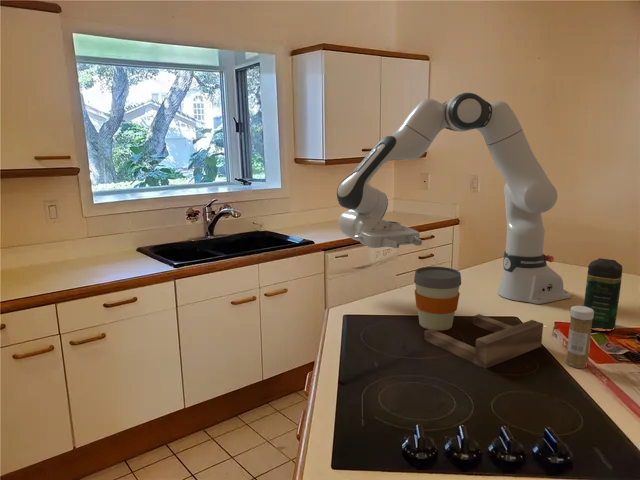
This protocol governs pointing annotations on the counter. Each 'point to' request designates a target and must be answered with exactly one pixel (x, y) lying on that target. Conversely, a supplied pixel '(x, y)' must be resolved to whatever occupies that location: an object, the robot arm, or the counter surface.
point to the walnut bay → (492, 341)
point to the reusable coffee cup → (437, 296)
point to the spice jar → (579, 336)
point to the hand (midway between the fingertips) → (409, 244)
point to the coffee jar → (603, 291)
